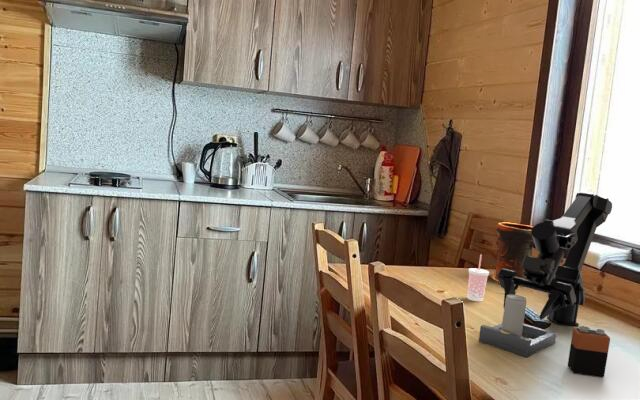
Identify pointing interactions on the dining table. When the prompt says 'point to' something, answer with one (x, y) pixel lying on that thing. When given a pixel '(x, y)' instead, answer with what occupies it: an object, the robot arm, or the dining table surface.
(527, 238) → the vessel
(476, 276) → the beverage cup
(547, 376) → the dining table surface
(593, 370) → the battery
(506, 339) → the grey shallow tray
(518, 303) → the beverage can
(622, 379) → the dining table surface
